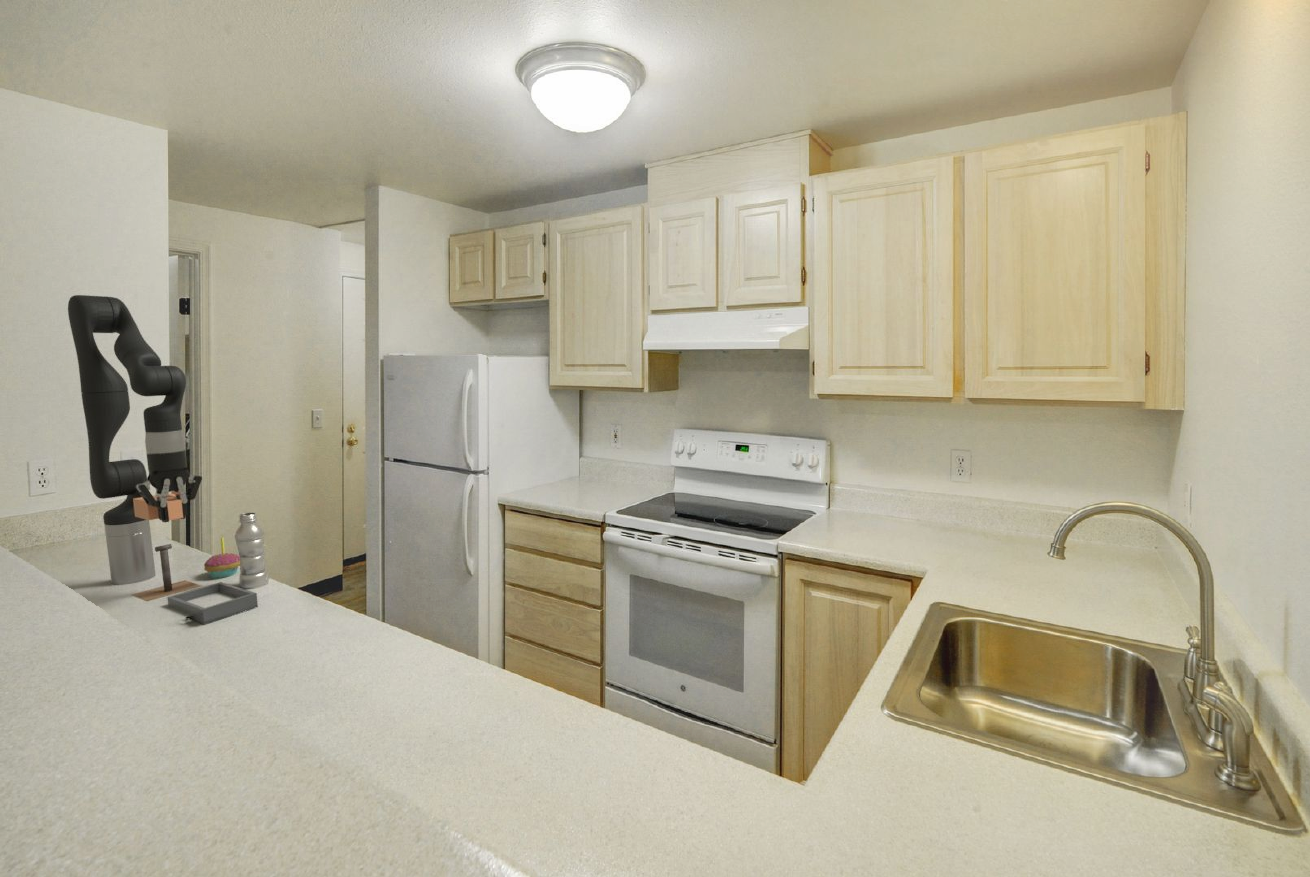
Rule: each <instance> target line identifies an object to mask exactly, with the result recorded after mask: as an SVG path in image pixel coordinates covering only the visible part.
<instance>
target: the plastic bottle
mask: <svg viewBox="0 0 1310 877" xmlns="http://www.w3.org/2000/svg"><path fill="white" fill-rule="evenodd" d="M238 517H239V521H238V522H239V523H240V525H239V526H238V528H237V530H236V531H235V534H234V540H235V543H236V547H237V550H238V556H239V557H240V566H239V576H238V577H239V579H238V583H239V588H242V589H245V590H252V589H258V588H261V587H265V586H267V585H269V579H270V578H269V574H268V571H267V568H266V563H265V556H264V542H265V532H264V529H263V528H262V527H261V526H260V525H259V524H258V523H257V521H258V518H257V514H256V512H244V513H240V514H239V516H238ZM266 578H267V579H266Z"/></svg>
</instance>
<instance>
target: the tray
mask: <svg viewBox="0 0 1310 877" xmlns="http://www.w3.org/2000/svg"><path fill="white" fill-rule="evenodd" d="M218 592H221V593H223V594H227V595H229V596H233V597H234V598H233V599H229V600H226V601H223V602H219V603H216V604H213V605H210V606H207V607H203V606H200V605H198V604H195V603H192V602H189V601H192V600H195V599H199V598H202V597H205V596H208V595H213V594H215V593H218ZM166 597H167V605H168V606H169V607H172V608H174V609H177V610H179V611H182V612H185V613H188V614H189V615H188V616H185V618H186V619H189V620H191V621H192V622H193V621H194V622H196V623H199V624H201V625H204V626H205V625H207V624H211V623H214V622H218V621H220V620H223V619H227V618H229V617H232V615H233V616H235V615H234V614H236V615H239V614H241V613H240V612H242V613H244V612H243V611H245V610H248V611H251V610H254V609H256V608H255V607H257V608H258V607H259V605H258V594H257V592H254V591H251V590H249V589H242V588H241V587H237V586H236V585H231V584H228V583H225V582H222V581H220V582H216V583H213V584H212V583H211V584H209V585H206V586H201V587H197V588H193V589H190V590H186V591H183V592H179V593H176V594H172V595H169V596H166ZM235 597H236V598H235ZM253 608H254V609H253ZM250 609H251V610H250ZM245 612H246V611H245ZM238 613H239V614H238Z"/></svg>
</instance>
